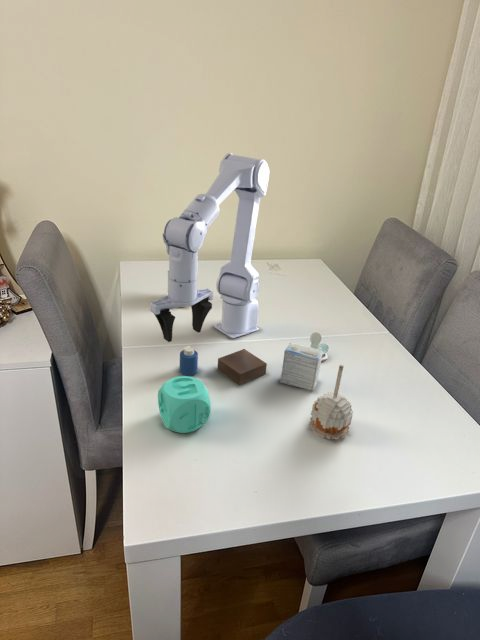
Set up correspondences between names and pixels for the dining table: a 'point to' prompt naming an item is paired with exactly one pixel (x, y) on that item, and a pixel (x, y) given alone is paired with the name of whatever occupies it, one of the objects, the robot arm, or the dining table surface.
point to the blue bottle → (188, 361)
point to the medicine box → (301, 366)
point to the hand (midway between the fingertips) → (182, 335)
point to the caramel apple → (331, 413)
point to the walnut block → (241, 366)
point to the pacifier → (315, 342)
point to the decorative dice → (184, 404)
